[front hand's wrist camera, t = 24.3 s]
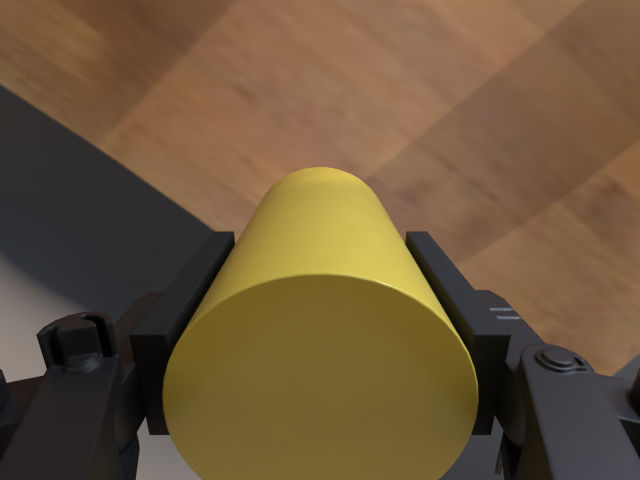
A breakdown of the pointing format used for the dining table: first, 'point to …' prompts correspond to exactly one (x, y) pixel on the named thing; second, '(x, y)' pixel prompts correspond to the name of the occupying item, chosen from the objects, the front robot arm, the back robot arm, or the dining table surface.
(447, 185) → the dining table surface
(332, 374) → the can
